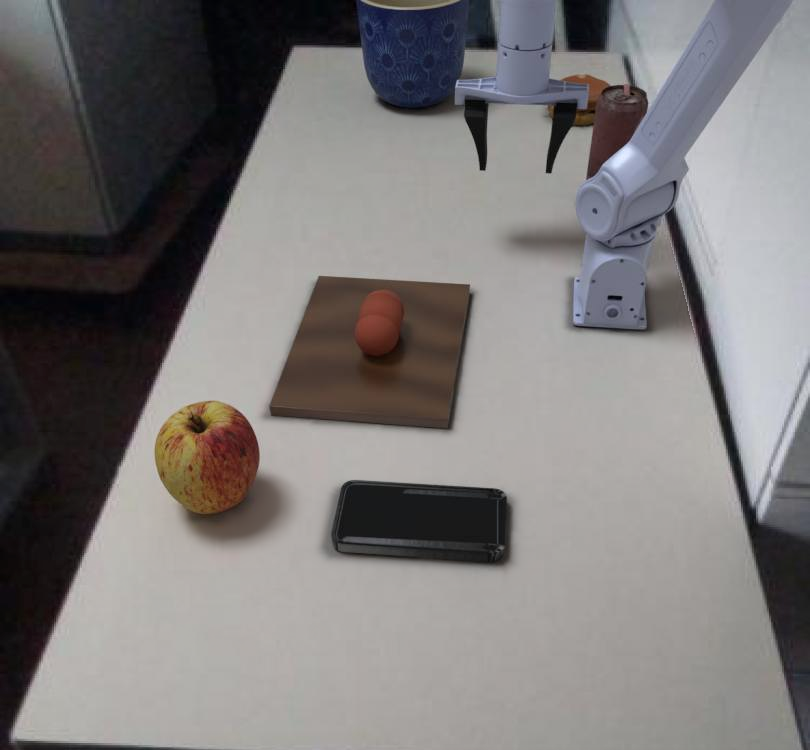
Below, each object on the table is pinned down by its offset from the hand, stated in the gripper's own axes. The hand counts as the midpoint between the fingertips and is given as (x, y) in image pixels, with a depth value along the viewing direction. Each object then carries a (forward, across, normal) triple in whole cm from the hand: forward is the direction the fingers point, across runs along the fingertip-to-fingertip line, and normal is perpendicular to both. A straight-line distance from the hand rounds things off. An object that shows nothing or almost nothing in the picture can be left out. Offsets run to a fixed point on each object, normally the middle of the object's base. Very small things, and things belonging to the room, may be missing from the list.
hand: (515, 168), depth 100 cm
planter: (+10, +18, -43) cm, 48 cm away
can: (+10, -12, -11) cm, 19 cm away
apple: (+10, +24, +48) cm, 55 cm away
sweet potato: (+8, +13, +24) cm, 28 cm away
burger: (+10, -8, -39) cm, 41 cm away
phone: (+9, +5, +49) cm, 50 cm away
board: (+9, +13, +24) cm, 29 cm away
